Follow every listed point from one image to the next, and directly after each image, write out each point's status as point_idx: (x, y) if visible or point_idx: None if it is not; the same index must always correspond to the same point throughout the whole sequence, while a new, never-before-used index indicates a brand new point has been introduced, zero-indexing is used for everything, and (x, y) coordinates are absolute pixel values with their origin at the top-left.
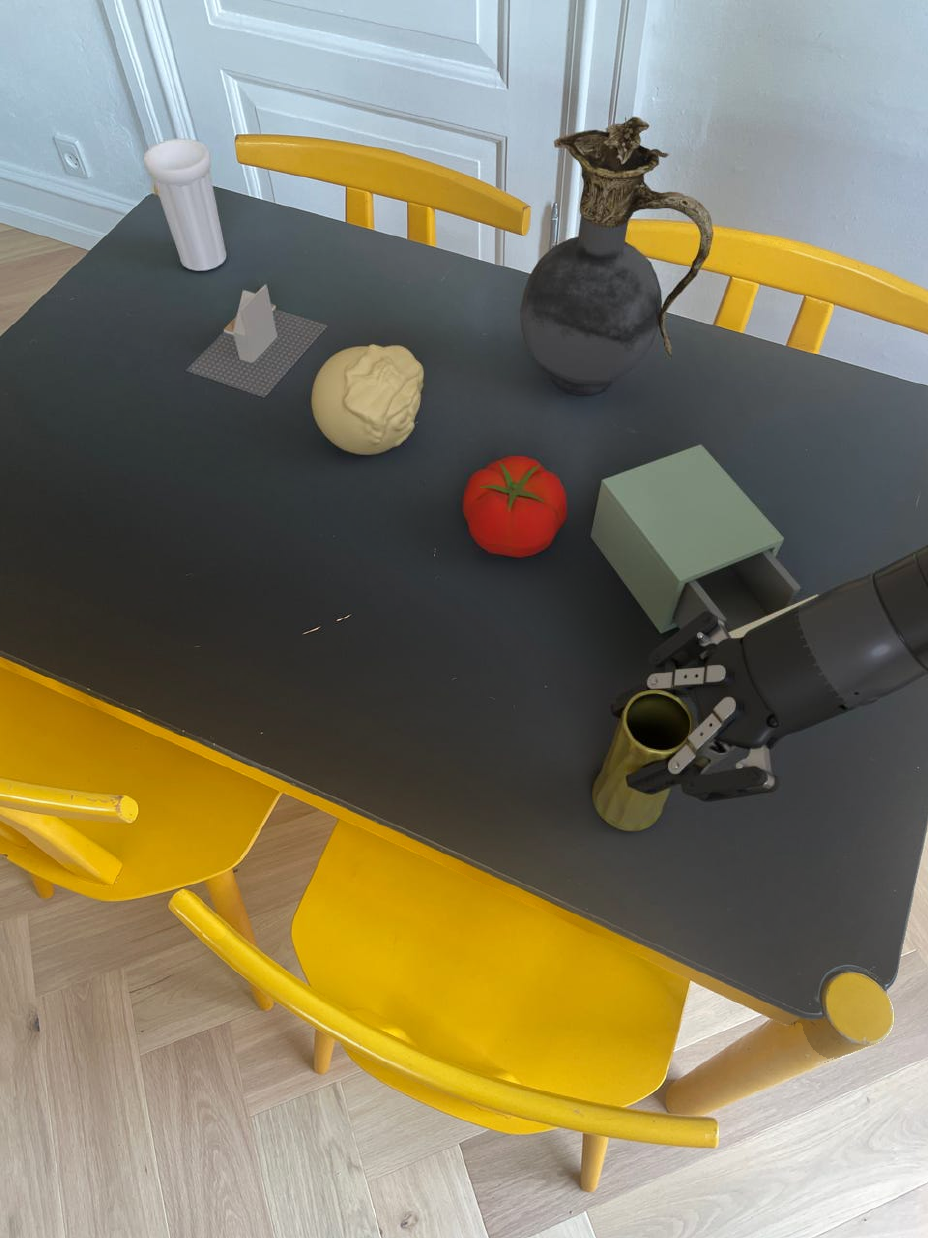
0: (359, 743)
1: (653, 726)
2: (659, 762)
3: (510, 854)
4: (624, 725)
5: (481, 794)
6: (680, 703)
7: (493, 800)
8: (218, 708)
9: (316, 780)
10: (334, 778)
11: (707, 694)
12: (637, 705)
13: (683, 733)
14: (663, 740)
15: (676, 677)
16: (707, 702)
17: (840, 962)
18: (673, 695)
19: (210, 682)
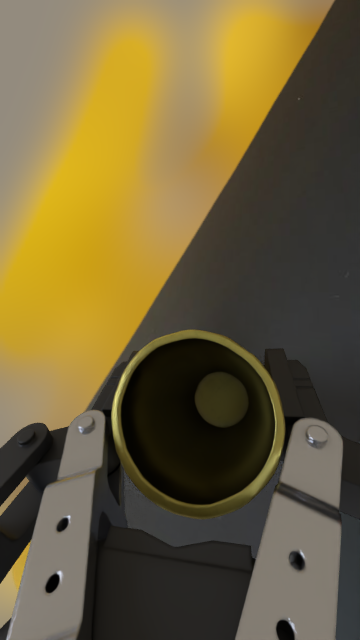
0: (288, 166)
1: (254, 429)
2: None
3: (179, 285)
4: (186, 330)
5: (234, 263)
6: (238, 494)
7: (228, 273)
8: (322, 66)
9: (253, 142)
10: (255, 154)
11: (194, 636)
12: (261, 387)
13: (197, 477)
14: (238, 444)
15: (304, 515)
16: (164, 613)
17: None
18: (264, 481)
19: (350, 53)
